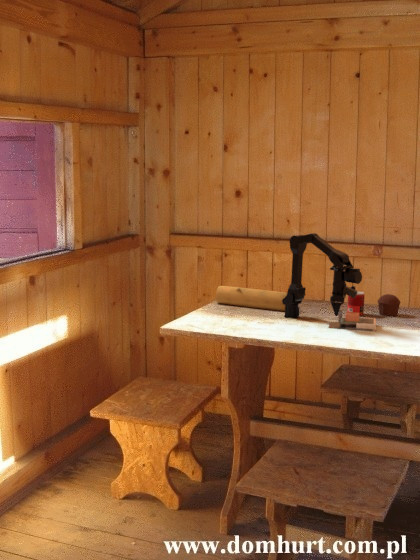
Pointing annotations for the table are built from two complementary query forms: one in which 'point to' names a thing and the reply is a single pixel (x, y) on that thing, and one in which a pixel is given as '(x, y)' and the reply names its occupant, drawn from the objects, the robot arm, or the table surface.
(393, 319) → the table surface
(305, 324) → the table surface
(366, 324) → the dock
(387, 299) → the muffin
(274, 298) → the log
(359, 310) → the canned food
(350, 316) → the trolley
